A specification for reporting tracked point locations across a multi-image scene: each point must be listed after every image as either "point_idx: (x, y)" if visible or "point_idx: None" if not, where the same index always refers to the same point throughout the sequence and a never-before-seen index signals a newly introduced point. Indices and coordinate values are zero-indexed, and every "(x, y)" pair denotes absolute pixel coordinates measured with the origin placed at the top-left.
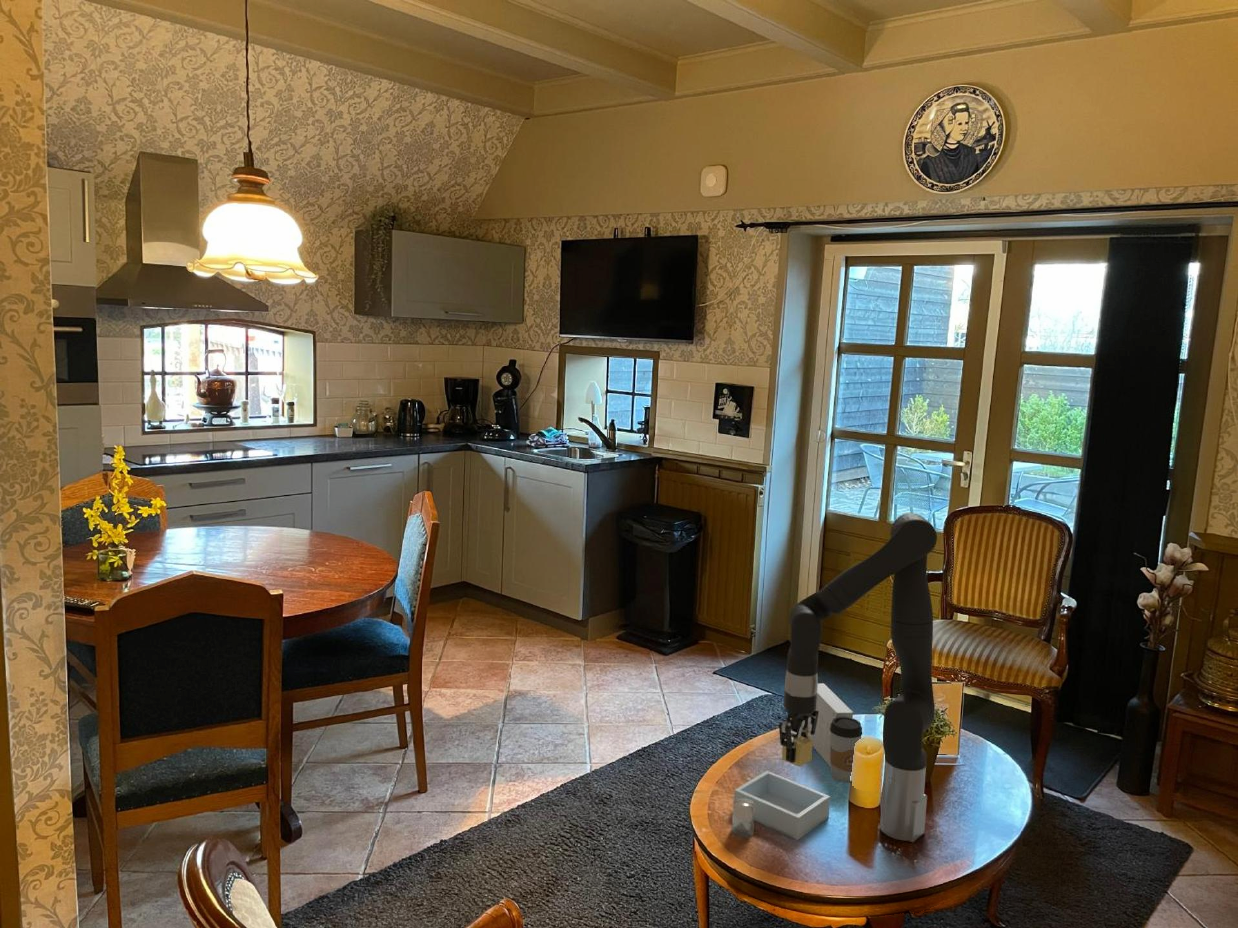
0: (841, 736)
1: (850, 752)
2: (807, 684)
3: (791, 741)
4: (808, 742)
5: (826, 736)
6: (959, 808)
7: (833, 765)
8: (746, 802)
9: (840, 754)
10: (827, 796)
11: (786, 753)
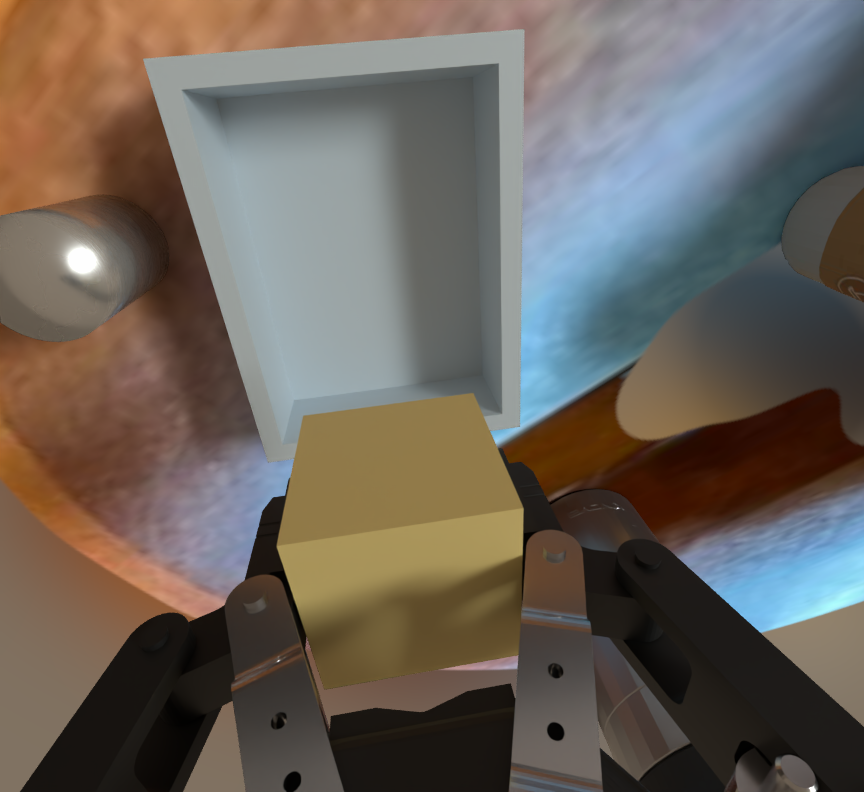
0: None
1: None
2: None
3: (191, 755)
4: (450, 666)
5: None
6: (787, 542)
7: (838, 217)
8: (62, 281)
9: None
10: (511, 421)
11: (256, 541)
